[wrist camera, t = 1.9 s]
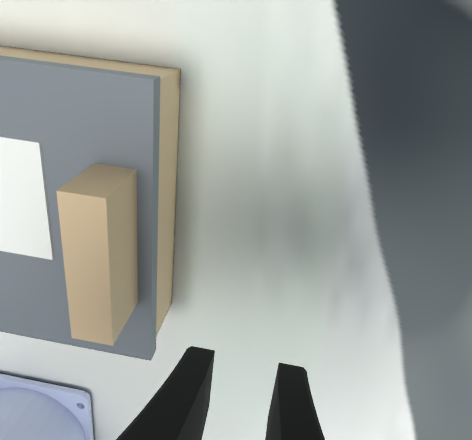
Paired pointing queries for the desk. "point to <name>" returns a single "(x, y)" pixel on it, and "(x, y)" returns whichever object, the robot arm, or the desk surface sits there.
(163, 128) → the kraft box
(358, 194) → the desk surface
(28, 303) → the lid
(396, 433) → the desk surface
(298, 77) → the desk surface
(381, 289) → the desk surface
